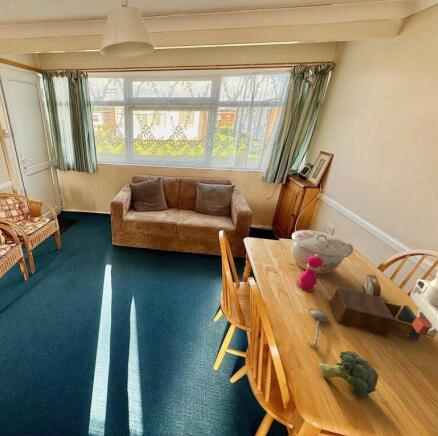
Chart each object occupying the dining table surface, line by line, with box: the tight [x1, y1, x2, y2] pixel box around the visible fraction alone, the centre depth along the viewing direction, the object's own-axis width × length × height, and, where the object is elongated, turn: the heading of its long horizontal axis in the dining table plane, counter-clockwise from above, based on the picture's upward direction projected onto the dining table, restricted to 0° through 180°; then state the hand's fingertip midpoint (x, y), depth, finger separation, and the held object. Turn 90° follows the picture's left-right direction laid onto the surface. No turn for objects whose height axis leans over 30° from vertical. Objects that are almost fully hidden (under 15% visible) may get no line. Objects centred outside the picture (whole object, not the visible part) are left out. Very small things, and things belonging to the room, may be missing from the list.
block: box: [412, 316, 438, 338], centre depth 80 cm, size 4×4×4 cm
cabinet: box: [330, 286, 395, 337], centre depth 99 cm, size 16×14×9 cm
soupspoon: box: [310, 309, 329, 349], centre depth 95 cm, size 22×3×7 cm
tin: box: [363, 274, 382, 297], centre depth 112 cm, size 15×3×8 cm, turn 148°
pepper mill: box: [298, 254, 323, 291], centre depth 115 cm, size 7×7×20 cm
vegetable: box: [318, 350, 379, 399], centre depth 75 cm, size 12×13×15 cm
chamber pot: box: [290, 229, 354, 274], centre depth 130 cm, size 28×28×21 cm
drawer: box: [383, 300, 423, 343], centre depth 94 cm, size 19×12×7 cm, turn 66°
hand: (424, 327), depth 80 cm, fingers closed on block, 4 cm apart
